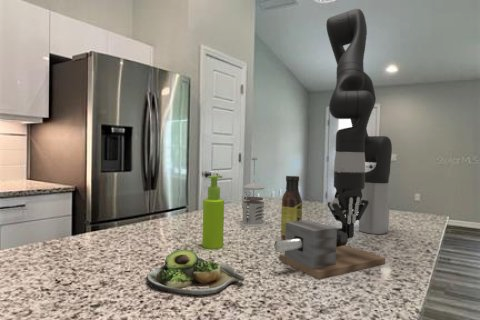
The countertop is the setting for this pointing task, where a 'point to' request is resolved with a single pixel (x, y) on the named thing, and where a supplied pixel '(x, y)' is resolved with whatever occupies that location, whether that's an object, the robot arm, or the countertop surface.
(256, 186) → the french press
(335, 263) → the bearing block
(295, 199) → the sauce bottle
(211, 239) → the soap dispenser
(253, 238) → the countertop surface
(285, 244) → the shaft
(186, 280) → the salad plate
